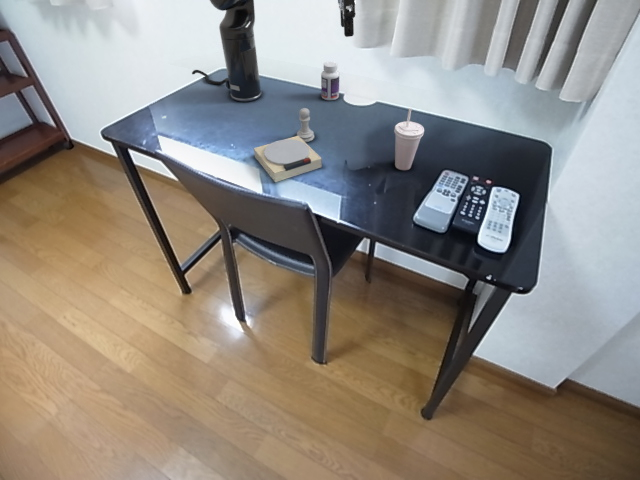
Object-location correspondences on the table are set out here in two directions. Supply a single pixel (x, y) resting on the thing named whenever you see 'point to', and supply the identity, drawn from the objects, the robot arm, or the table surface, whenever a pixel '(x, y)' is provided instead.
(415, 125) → the smoothie
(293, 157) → the scale
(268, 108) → the table surface
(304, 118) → the chess piece
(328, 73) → the pill bottle
